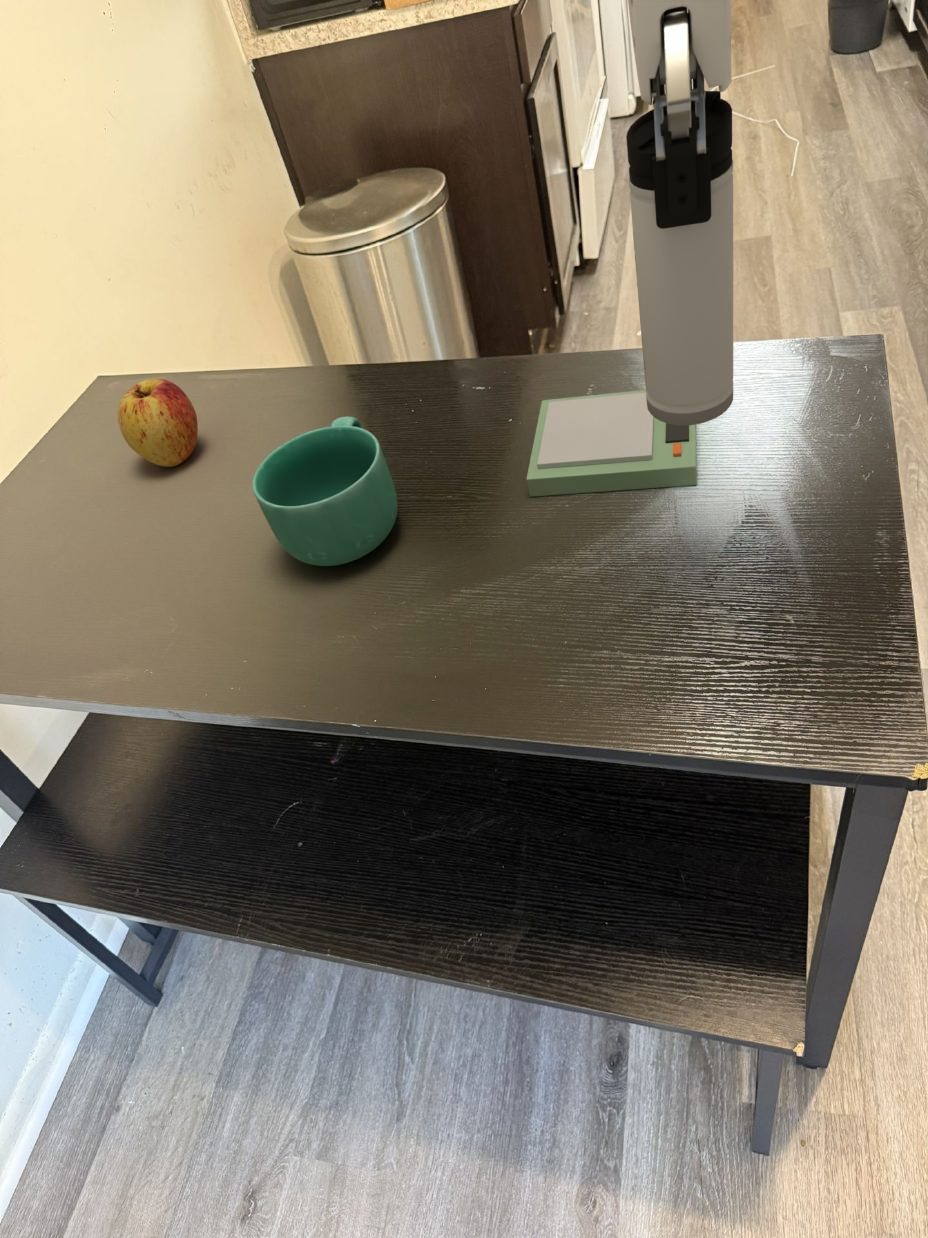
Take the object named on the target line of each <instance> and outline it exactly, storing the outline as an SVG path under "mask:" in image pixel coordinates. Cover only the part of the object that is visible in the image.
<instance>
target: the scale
mask: <svg viewBox="0 0 928 1238" xmlns="http://www.w3.org/2000/svg"><path fill="white" fill-rule="evenodd" d="M538 414H539V415H538V417H537V418H538V419H537V423H536V429H535V434H534V438H533V443H532V448H531V453H530V459H529V464H528V468H527V474H526V479H525V480H526V485H527V489H528V494H529V497H530V498H533V497H544V496H546V497H547V496H548V497H549V496H561V495H574V494H587V493H588V494H589V493H590V494H591V493H602V492H615V491H618V492H619V491H630V490H644V489H645V490H646V489H657V488H658V489H659V488H671V487H687V486H697V485H698V463H697V458H698V457H697V424H695V425H684V426H682V425H673V424H668V423H665V422H662V421H659V420H658V419H656V418H655V417H653V416H652V415H651V414H650V412H649V410H648V408H647V399H646V389H641V390H631V391H619V392H612V393H611V392H610V393H599V394H591V395H581V396H572V397H571V396H570V397H562V398H561V397H560V398H553V399H552V398H551V399H542V400H541V403H540V408H539V413H538Z"/></svg>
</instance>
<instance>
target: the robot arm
mask: <svg viewBox="0 0 928 1238" xmlns="http://www.w3.org/2000/svg"><path fill="white" fill-rule="evenodd" d="M731 1H732V0H627V3H628V13H629V22H630V23H629V24H630V30H631V31H630V32H631V39H632V47H633V54H634V61H635V67H636V75H637V80H638V81H637V82H638V88H639V94H640V99H641V100H642V101H643V102H644V103H646V104H647V105H649V106H652V107H653V109H654V123H655V144H656V156H655V157H652V162H653V179H654V195H655V211H656V224H657V226H658V227H659V228H661V229H665V228H672V227H678V226H685V225H691V224H698V223H705V222H707V221H709V220H710V218H711V164H710V147H706V129H705V91H706V90H705V82H706V85H707V86H708V88H714V87H715V88H716V87H718V91H720V93H723V92H726V90H728V88H729V87H730V85H731V84H732V82H733V81H732V78H733V77H732V76H733V75H732V22H731V21H732V20H731V19H732V18H731V17H732V15H731V13H732V12H731V9H732V8H731V6H732V5H731ZM693 104H695V111H692V112H691V105H693ZM666 109H667V116H665V117H664V110H666Z"/></svg>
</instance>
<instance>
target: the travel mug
mask: <svg viewBox="0 0 928 1238" xmlns="http://www.w3.org/2000/svg"><path fill="white" fill-rule="evenodd" d="M721 93H722V92H720V91H719V90H705V129H706V147H710V164H711V218H710V220H709V221H707V222H705V223H698V224H691V225H685V226H678V227H672V228H665V229H661V228H659V227H658V226H657V224H656V211H655V195H654V179H653V162H652V157H655V156H656V144H655V123H654V108H653V109H651V110H649V111H646V113H644V114H642V115H641V116H640V117H638V118H637V119H636V120H634V122H633V123H632V124H631V125H630V126H629V128H628V130H627V132H626V135H625V139H626V140H625V141H626V151H627V161H628V165H629V168H628V175H629V176H628V187H629V189H630V191H629V201H630V212H631V225H632V234H633V235H632V236H633V237H632V238H633V248H634V249H633V251H634V262H635V263H634V264H635V271H636V272H635V276H636V287H637V298H638V299H637V300H638V312H639V322H640V336H641V337H640V338H641V349H642V359H643V360H642V361H643V371H644V372H643V373H644V381H645V382H644V385H645V386H644V387H645V390H646V399H647V408H648V410H649V412H650V414H651V415H652V416H653V417H655V418H656V419H658V420H659V421H662V422H665V423H668V424H673V425H682V426H684V425H695V424H696V425H700V424H703V423H708V422H710V421H712V420H715V419H718V417H720V416H722V415H724V414H725V413H726V412H727V411H728V409H730V407H731V406H732V404H733V401H734V174H733V172H734V159H733V149H732V148H733V108H732V106H731V104H730V103H729V102H728V101H727V100H726V99H723V98H722V97H721V96H722V94H721ZM692 111H695V104H693V105H691V112H692ZM665 116H667V109H666V110H664V117H665Z"/></svg>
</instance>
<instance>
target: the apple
mask: <svg viewBox="0 0 928 1238" xmlns="http://www.w3.org/2000/svg"><path fill="white" fill-rule="evenodd" d="M117 424H118V427H119V430H120V432H121V435H122V437H123V439H124V441H125V442H126V444H127V445H128V446H129V447H130V448H131V449H132V450H133V451H134V452H135V453H136V454H137V455H139V456H140V457H141V458H143V459H145V460H146V461H147V462H150V463H152V464H154V465H156V466H159V467H164V468H172V467H176V466H178V465H181V464H182V463H183V462H184V461H185V460H187V459H188V458H190V456H191V454H192V453H193V451H194V450H195V447H196V445H197V442H198V434H199V431H198V430H199V429H198V425H199V424H198V417H197V413H196V410H195V407H194V405H193V403H192V401H191V400H190V398H189V396H188V395H187V393H185V391H184V390H183V389H182V388H181V387H180V386H178V385H177V384H176V383H174V382H173V381H170V380H167V379H163V378H149V379H144V380H142V381H138V382H137V383H136V384H134V385H133V386H132V387H131V388H129V389H128V390H127V391H126V393H125V394H124V395H123V396H122V398H121V400H120V402H119V404H118V407H117Z"/></svg>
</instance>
